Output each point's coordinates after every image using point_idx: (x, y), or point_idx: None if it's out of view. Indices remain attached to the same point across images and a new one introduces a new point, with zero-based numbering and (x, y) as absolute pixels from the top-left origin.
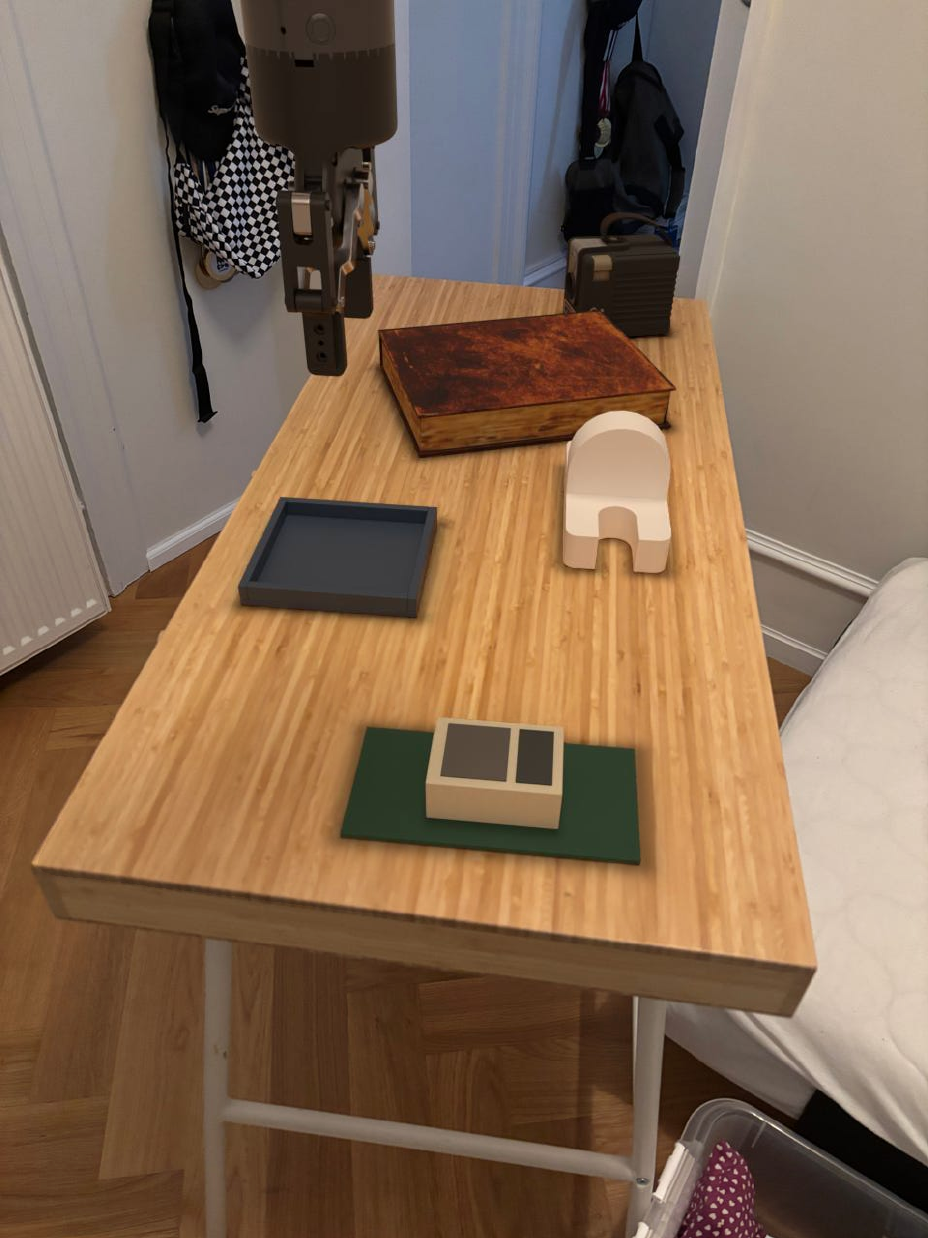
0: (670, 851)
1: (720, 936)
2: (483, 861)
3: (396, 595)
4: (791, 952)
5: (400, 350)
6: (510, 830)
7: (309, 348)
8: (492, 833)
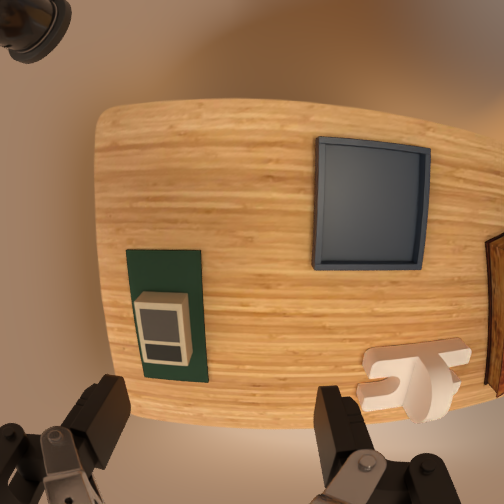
0: (155, 386)
1: None
2: (129, 316)
3: (317, 256)
4: None
5: None
6: None
7: (78, 401)
8: None
